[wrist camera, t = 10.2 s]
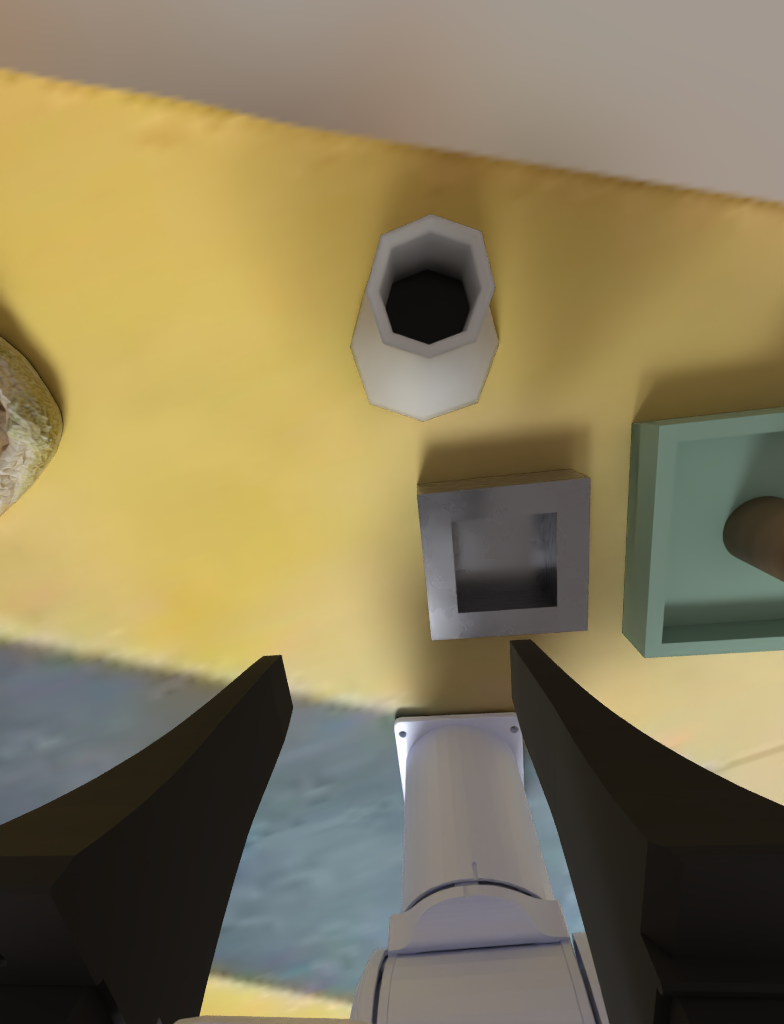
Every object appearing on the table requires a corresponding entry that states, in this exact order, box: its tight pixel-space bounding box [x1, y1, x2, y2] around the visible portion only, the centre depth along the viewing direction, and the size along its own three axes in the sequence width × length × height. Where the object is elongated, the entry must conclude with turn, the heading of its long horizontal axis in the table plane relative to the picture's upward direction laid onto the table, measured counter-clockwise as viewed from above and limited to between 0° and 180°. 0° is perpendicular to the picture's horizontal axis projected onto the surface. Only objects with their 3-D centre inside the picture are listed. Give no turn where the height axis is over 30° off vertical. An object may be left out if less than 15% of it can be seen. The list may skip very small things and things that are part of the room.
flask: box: [350, 214, 499, 422], centre depth 14 cm, size 7×7×10 cm
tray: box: [622, 407, 784, 658], centre depth 19 cm, size 12×12×2 cm
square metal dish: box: [417, 469, 590, 640], centre depth 20 cm, size 8×8×2 cm
